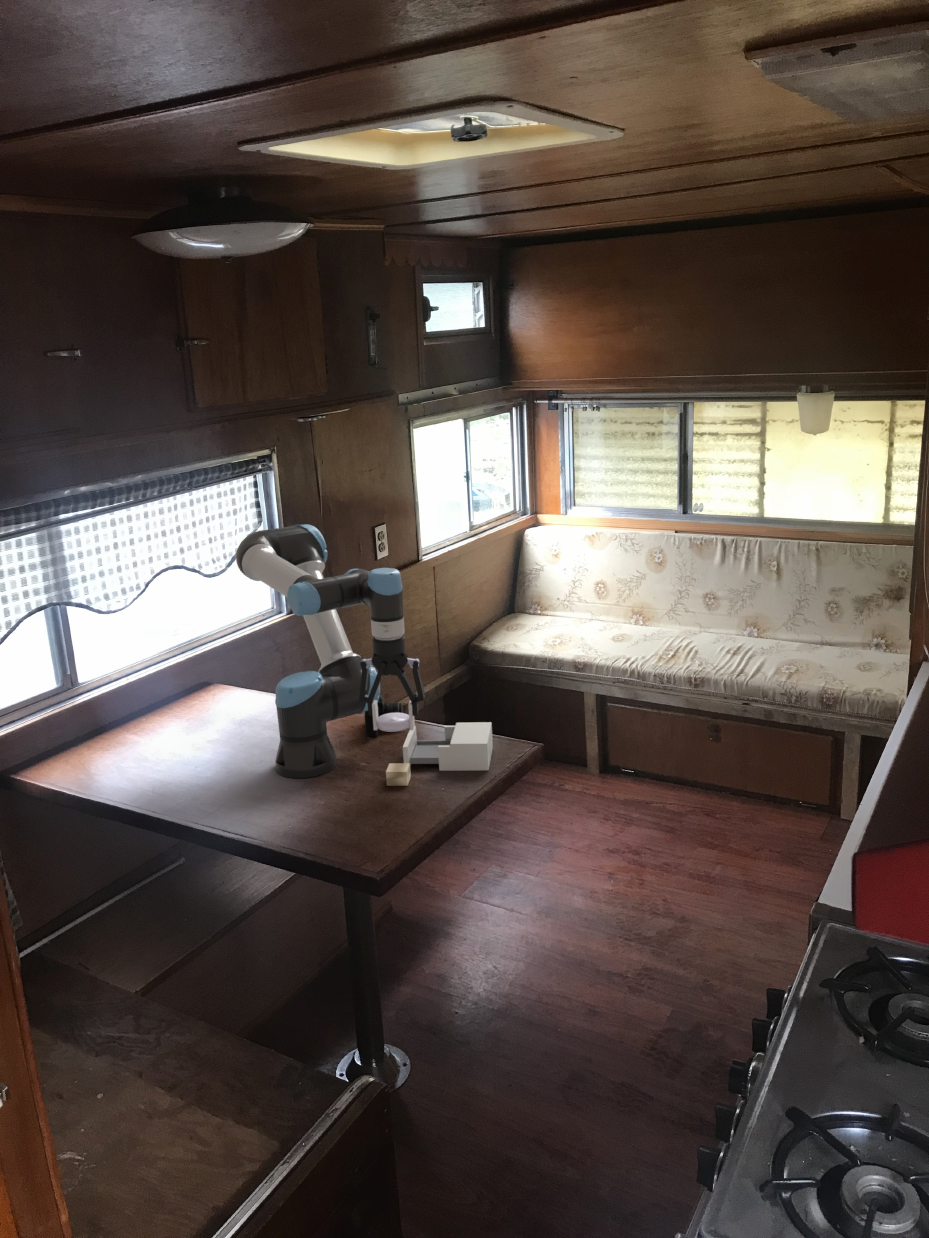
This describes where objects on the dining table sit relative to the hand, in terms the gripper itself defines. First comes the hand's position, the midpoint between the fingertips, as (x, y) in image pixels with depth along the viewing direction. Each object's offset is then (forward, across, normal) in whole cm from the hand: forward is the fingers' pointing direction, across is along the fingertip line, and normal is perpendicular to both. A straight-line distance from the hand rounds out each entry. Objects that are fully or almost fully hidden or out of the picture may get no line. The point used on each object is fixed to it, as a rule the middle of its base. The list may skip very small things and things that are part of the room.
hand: (394, 727), depth 233 cm
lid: (-1, 0, 0) cm, 1 cm away
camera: (+14, -10, +34) cm, 38 cm away
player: (+13, +15, +12) cm, 24 cm away
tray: (+13, +6, +13) cm, 19 cm away
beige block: (+13, 0, 0) cm, 13 cm away
